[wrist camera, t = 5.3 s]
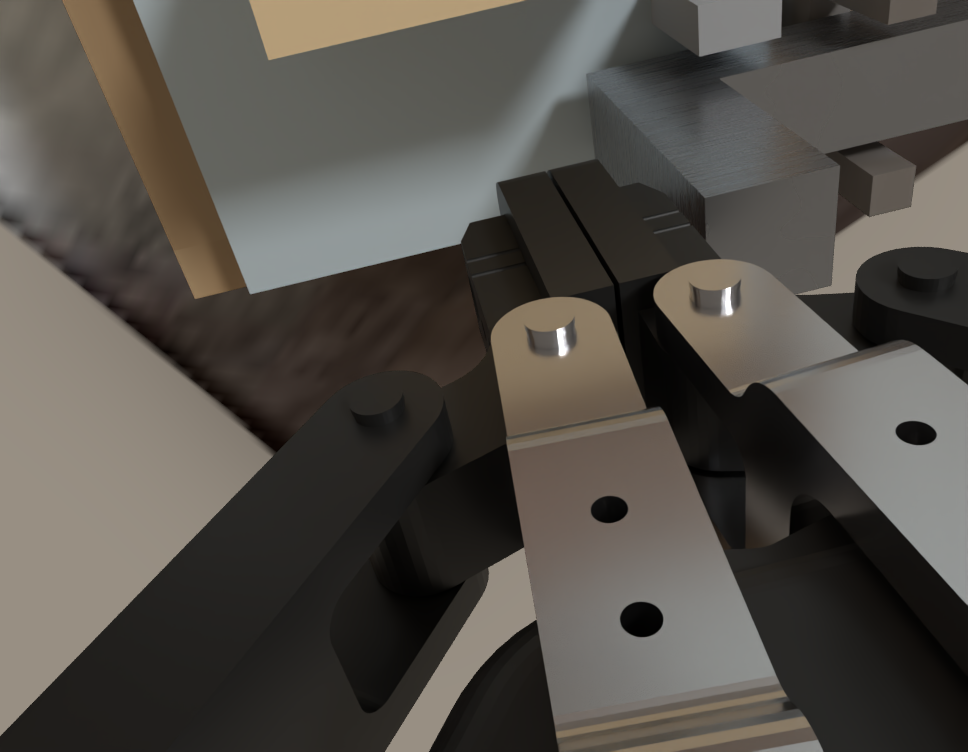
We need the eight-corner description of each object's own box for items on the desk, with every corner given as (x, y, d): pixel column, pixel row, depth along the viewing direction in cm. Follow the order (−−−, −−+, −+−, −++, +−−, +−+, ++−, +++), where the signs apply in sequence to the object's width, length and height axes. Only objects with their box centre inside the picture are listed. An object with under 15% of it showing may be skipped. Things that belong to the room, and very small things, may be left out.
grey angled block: (1002, -25, 16) (1295, 55, 11) (986, 72, 17) (1248, 182, 12) (585, 73, 16) (704, 198, 11) (595, 165, 17) (707, 315, 12)
